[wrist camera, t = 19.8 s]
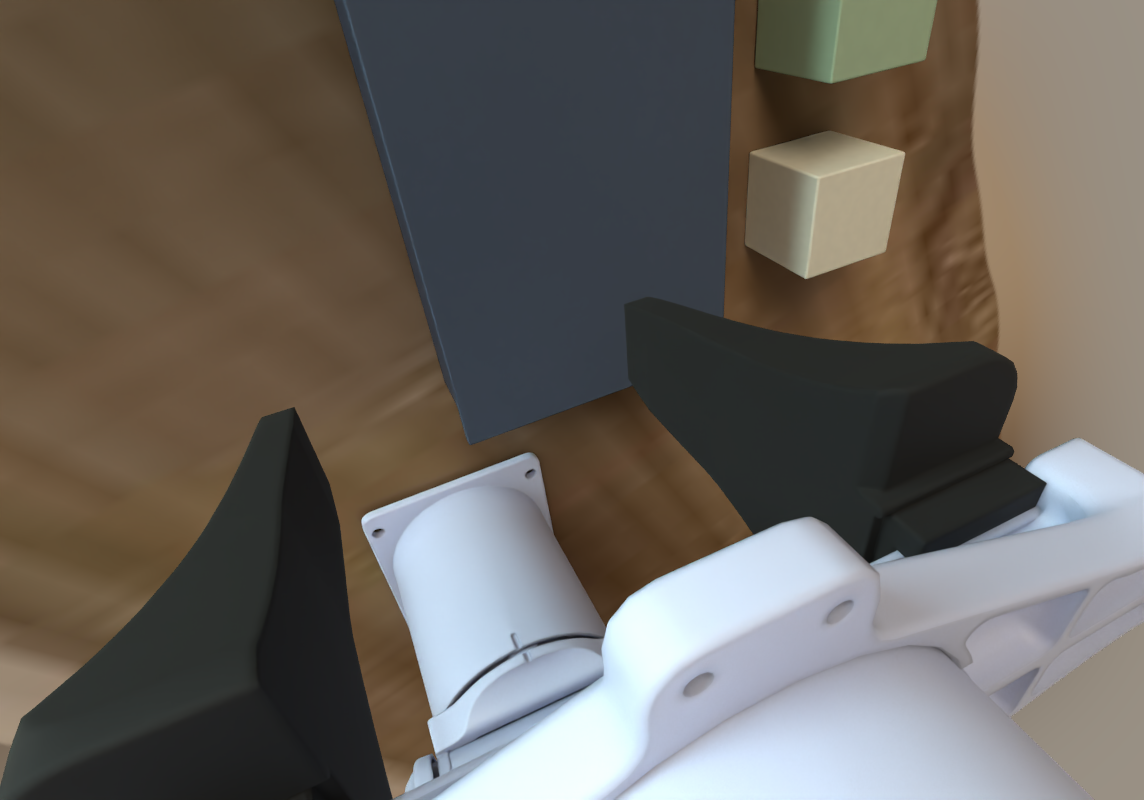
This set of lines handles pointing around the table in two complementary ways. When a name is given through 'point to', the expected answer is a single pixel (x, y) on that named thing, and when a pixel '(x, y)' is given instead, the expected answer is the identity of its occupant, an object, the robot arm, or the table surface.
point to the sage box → (841, 36)
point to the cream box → (821, 201)
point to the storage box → (548, 180)
